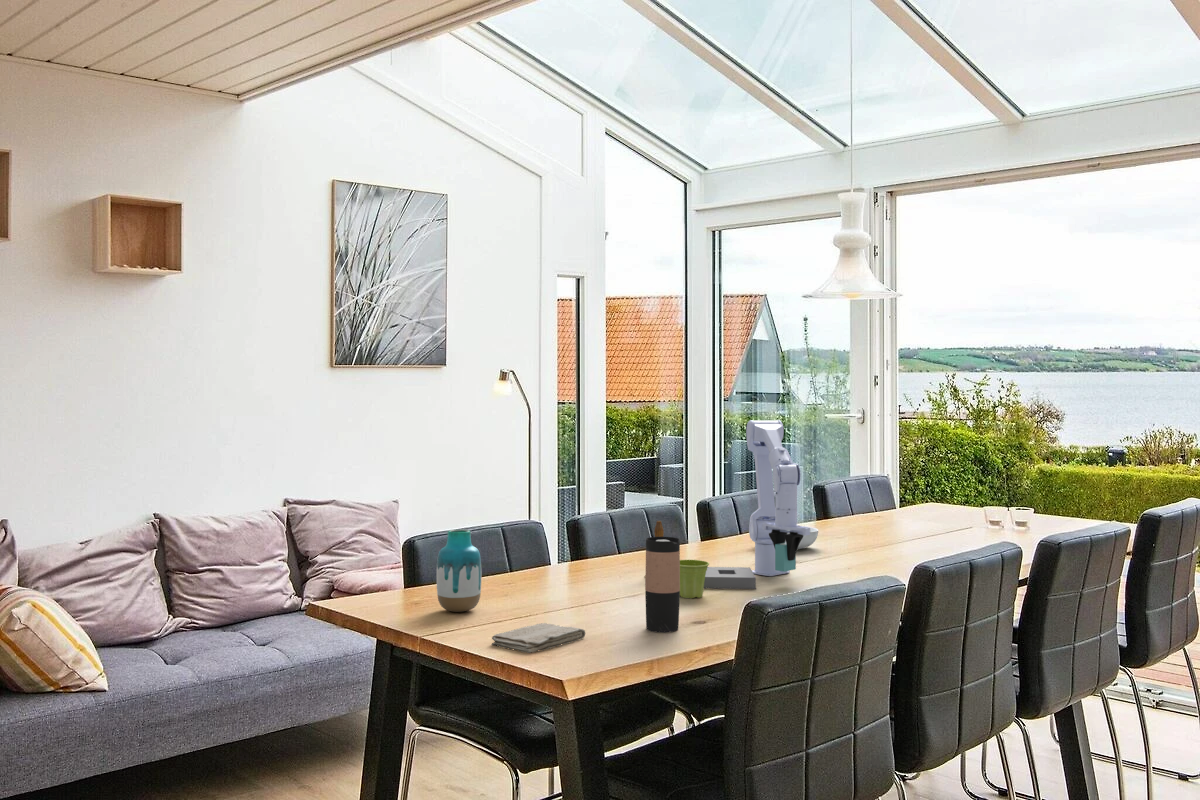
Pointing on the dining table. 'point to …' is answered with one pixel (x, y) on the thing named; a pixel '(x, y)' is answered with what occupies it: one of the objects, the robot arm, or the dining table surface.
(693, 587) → the plant pot
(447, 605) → the vase
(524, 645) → the washcloth
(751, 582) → the keyed socket
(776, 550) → the keyed peg
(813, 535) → the serving bowl
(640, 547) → the dining table surface
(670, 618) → the travel mug
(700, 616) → the dining table surface
